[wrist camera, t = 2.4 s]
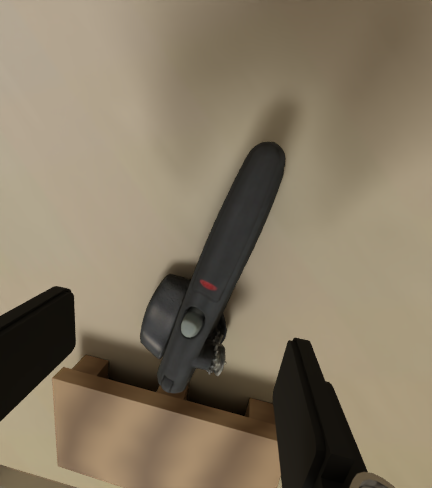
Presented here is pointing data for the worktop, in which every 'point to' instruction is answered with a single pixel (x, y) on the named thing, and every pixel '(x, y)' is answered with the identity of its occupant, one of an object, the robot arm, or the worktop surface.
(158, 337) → the can opener
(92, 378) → the stand
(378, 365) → the worktop surface
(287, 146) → the worktop surface
